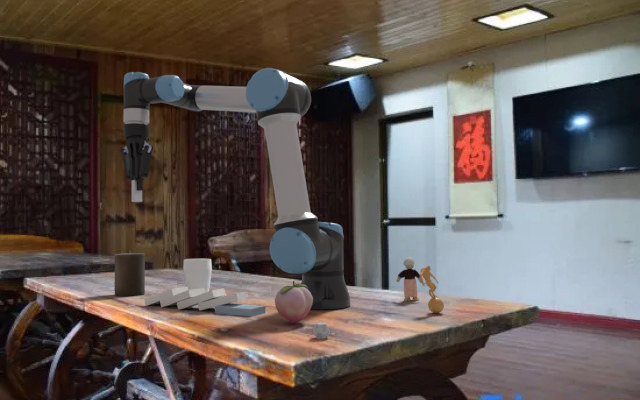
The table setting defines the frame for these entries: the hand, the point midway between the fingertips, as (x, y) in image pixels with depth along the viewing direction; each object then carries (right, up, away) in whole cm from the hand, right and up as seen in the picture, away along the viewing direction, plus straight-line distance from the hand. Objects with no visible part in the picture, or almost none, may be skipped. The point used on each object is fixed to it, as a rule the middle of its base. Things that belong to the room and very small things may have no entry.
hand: (136, 201), depth 174 cm
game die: (+56, -28, -56) cm, 84 cm away
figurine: (+84, -29, -27) cm, 93 cm away
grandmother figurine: (+82, -29, -4) cm, 87 cm away
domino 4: (+24, -29, -17) cm, 41 cm away
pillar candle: (-8, -31, +18) cm, 37 cm away
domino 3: (+18, -29, -14) cm, 37 cm away
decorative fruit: (+49, -29, -39) cm, 69 cm away
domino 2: (+12, -29, -9) cm, 33 cm away
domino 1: (+7, -29, -5) cm, 30 cm away
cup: (+16, -31, +10) cm, 36 cm away
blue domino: (+29, -29, -20) cm, 46 cm away
